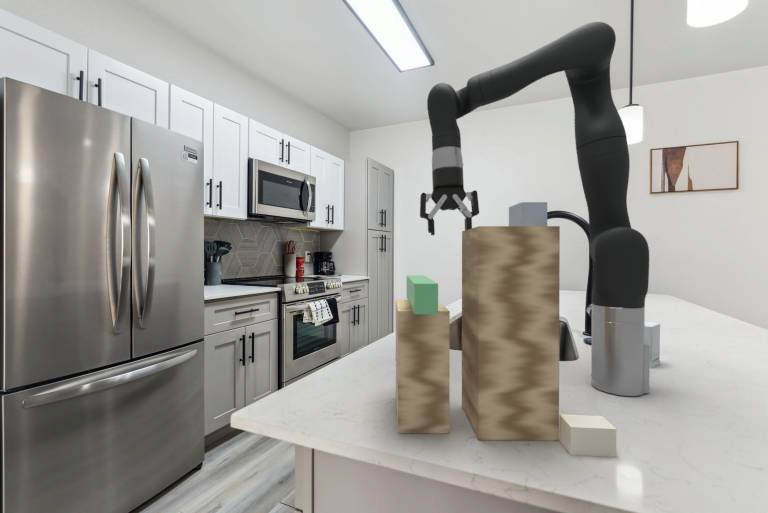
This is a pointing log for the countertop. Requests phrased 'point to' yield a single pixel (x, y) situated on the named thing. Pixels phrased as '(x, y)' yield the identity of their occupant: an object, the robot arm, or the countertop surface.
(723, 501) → the countertop surface
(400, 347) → the oak ledge
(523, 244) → the oak shelf block
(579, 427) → the cream brick
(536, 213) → the slate-blue brick
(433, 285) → the green bar
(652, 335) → the skincare box
